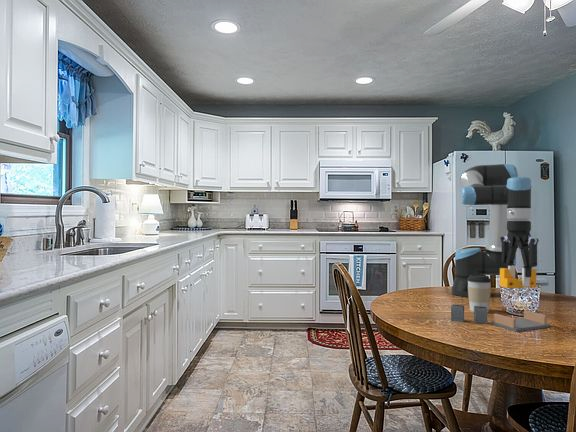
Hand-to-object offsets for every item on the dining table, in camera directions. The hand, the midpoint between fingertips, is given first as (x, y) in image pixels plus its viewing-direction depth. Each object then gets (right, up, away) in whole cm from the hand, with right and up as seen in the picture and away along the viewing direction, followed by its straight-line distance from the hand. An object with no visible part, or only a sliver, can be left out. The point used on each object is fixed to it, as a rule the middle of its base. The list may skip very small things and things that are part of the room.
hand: (518, 284), depth 139 cm
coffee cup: (-3, -15, +22) cm, 27 cm away
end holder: (0, -15, 0) cm, 15 cm away
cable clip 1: (-19, -15, +7) cm, 25 cm away
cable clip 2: (-12, -15, +4) cm, 19 cm away
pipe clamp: (0, -1, 0) cm, 1 cm away
